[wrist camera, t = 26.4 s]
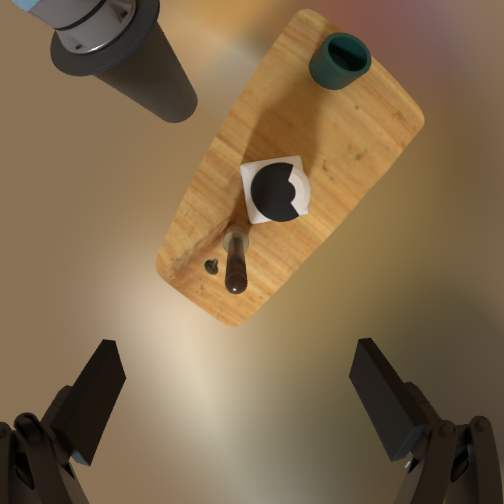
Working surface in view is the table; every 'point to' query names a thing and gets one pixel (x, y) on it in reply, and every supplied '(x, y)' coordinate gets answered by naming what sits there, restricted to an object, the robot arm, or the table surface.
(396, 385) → the robot arm
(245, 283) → the brush
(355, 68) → the cup
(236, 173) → the table surface
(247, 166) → the container
